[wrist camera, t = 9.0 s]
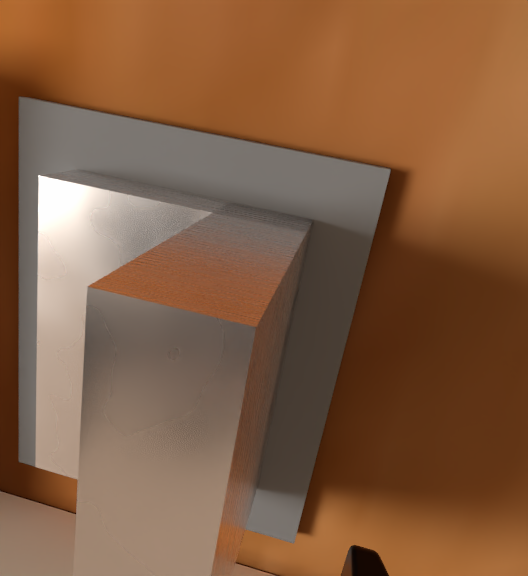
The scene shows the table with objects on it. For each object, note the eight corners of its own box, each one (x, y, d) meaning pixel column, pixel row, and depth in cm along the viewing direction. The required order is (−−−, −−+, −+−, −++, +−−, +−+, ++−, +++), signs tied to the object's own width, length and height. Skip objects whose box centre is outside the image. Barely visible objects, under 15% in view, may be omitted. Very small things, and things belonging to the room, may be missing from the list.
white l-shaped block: (534, 172, 11) (595, 189, 8) (368, 633, 16) (369, 744, 13) (-100, 51, 12) (-233, 30, 10) (-66, 497, 18) (-148, 568, 15)
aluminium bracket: (257, 489, 14) (176, 761, 8) (66, 434, 15) (-138, 647, 9) (313, 219, 11) (256, 327, 5) (76, 169, 12) (-210, 214, 6)
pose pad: (390, 168, 11) (390, 169, 11) (295, 533, 15) (294, 543, 15) (29, 97, 12) (18, 96, 12) (26, 453, 16) (18, 461, 16)
